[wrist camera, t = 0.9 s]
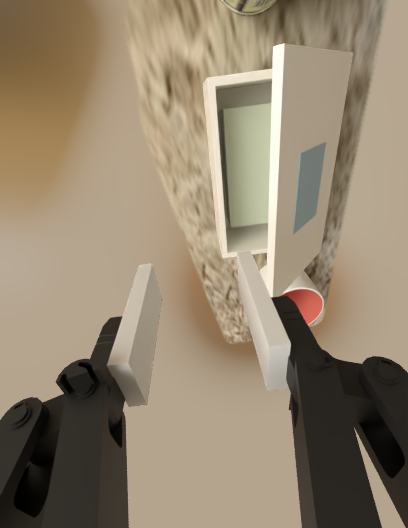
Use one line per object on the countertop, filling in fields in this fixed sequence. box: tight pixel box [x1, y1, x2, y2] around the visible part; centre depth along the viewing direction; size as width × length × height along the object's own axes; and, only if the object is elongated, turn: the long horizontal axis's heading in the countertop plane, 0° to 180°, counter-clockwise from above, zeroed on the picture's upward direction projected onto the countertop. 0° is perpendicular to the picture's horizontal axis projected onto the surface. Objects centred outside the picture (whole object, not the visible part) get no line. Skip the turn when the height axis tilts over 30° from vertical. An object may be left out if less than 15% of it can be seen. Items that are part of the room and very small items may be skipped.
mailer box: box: [203, 69, 273, 258], centre depth 35 cm, size 14×22×9 cm, turn 7°
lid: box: [266, 43, 353, 297], centre depth 26 cm, size 14×23×1 cm
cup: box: [259, 265, 324, 325], centre depth 47 cm, size 10×10×10 cm
